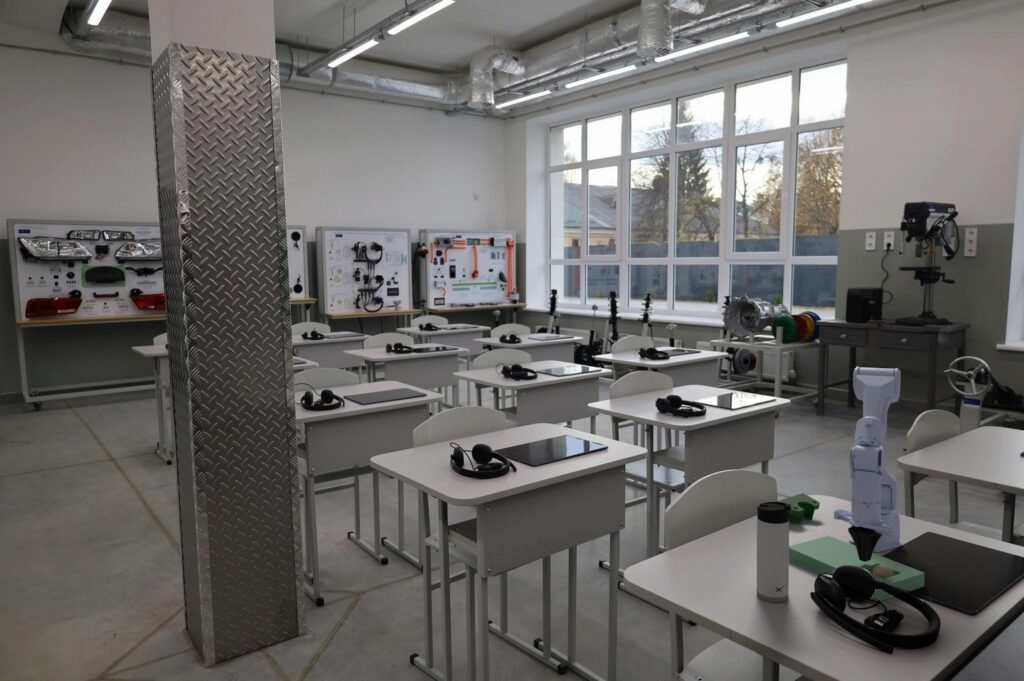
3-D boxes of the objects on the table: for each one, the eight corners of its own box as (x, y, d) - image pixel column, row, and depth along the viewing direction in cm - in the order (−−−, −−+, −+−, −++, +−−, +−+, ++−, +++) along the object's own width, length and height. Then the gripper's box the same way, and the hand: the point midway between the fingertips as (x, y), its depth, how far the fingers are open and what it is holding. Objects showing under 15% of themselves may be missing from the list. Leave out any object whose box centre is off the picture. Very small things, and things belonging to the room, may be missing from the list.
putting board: (786, 559, 160) (786, 546, 159) (828, 547, 166) (828, 535, 165) (880, 601, 138) (880, 587, 138) (924, 586, 144) (924, 572, 144)
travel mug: (787, 606, 137) (788, 510, 135) (753, 598, 141) (753, 505, 139) (792, 593, 142) (793, 501, 141) (760, 586, 146) (760, 496, 144)
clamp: (793, 539, 182) (792, 515, 178) (775, 528, 187) (773, 504, 183) (822, 515, 187) (821, 491, 182) (803, 505, 191) (802, 481, 187)
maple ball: (878, 573, 149) (887, 560, 147) (891, 587, 145) (901, 574, 143) (865, 574, 147) (874, 560, 145) (878, 588, 144) (888, 575, 142)
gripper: (824, 493, 152) (824, 552, 153) (884, 513, 139) (883, 576, 140) (846, 488, 155) (845, 545, 156) (907, 507, 142) (905, 569, 143)
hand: (864, 559), depth 149 cm, fingers closed
